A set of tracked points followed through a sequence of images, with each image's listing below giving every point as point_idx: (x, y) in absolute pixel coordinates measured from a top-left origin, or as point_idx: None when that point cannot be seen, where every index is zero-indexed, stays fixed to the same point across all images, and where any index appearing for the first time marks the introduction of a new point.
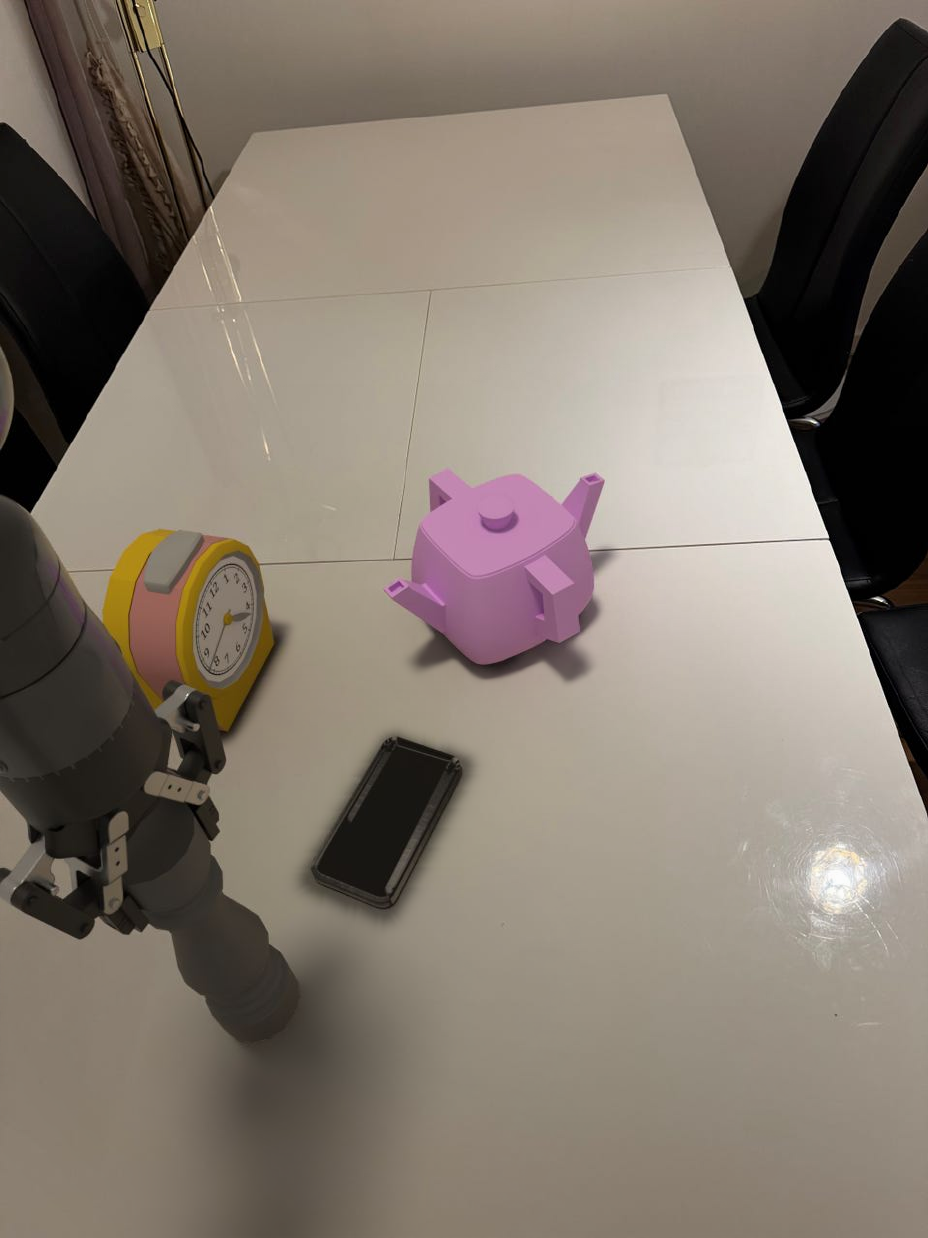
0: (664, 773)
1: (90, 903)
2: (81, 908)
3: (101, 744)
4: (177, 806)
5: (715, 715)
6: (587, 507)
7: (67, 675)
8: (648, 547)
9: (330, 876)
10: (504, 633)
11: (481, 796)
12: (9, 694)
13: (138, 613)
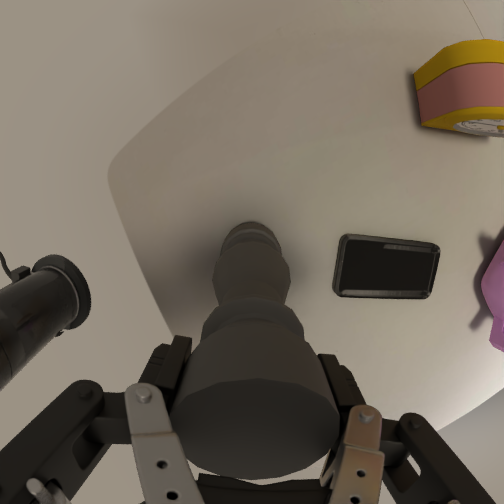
0: (420, 383)
1: (120, 443)
2: (106, 440)
3: None
4: (318, 450)
5: (445, 388)
6: None
7: None
8: None
9: (345, 251)
10: (497, 307)
11: (408, 312)
12: None
13: (498, 70)
